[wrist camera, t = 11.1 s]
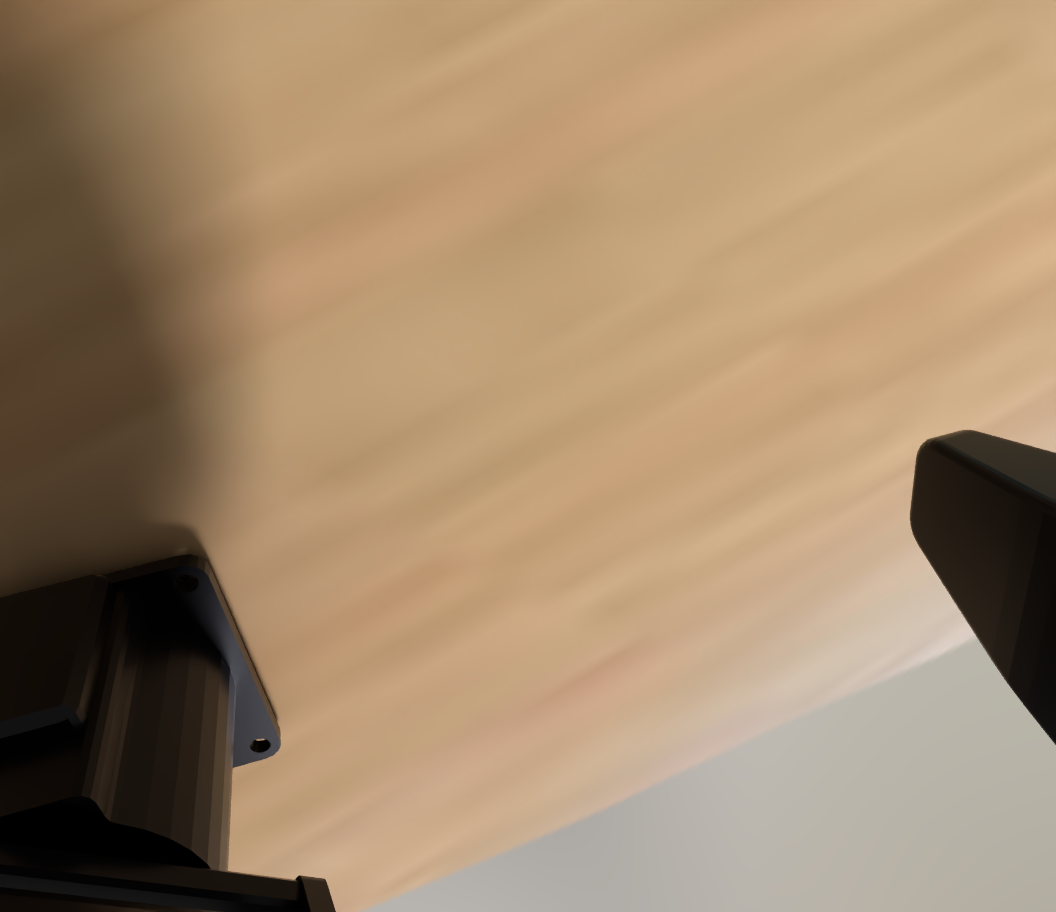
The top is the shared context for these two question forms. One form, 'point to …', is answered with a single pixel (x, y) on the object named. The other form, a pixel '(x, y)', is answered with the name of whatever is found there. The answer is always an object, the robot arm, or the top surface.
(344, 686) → the top surface
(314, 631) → the top surface
